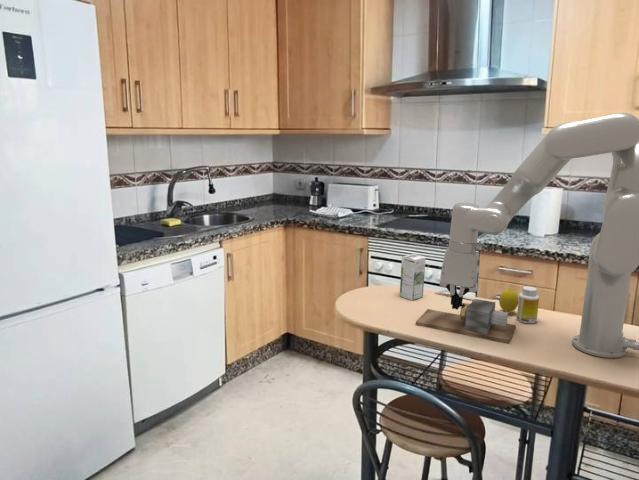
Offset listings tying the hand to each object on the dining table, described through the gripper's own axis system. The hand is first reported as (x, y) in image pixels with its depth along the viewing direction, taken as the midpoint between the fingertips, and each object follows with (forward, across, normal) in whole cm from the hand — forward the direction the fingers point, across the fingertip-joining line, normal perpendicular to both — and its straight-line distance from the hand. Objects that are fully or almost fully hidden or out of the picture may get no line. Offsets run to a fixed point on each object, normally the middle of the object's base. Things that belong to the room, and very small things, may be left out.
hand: (455, 307), depth 144 cm
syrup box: (+6, +19, -17) cm, 26 cm away
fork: (+6, +3, -25) cm, 26 cm away
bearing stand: (+5, -3, 0) cm, 6 cm away
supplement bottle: (+5, -18, -14) cm, 24 cm away
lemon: (+5, -12, -18) cm, 22 cm away
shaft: (+3, -8, 0) cm, 9 cm away
